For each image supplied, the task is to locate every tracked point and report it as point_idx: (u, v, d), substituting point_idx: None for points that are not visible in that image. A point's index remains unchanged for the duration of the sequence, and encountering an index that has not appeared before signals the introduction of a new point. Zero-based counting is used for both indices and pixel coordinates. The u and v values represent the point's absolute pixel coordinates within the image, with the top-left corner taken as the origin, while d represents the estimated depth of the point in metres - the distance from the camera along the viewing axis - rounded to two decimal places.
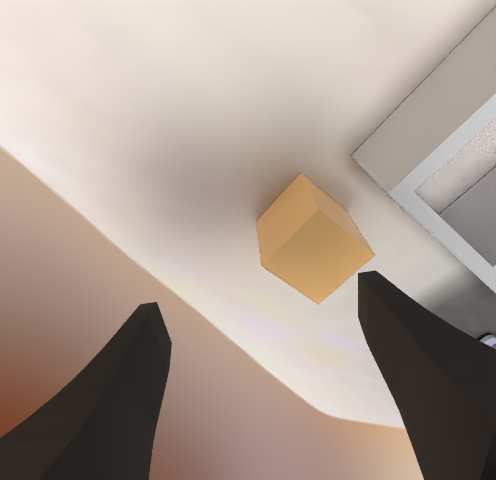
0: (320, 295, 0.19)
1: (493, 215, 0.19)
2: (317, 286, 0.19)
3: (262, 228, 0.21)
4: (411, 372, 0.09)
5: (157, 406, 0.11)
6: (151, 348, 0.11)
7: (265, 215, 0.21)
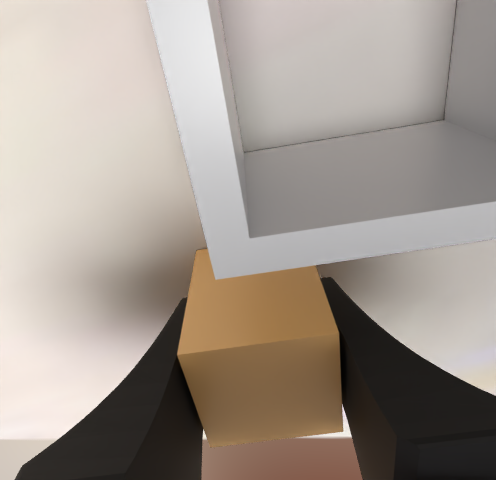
0: (331, 422, 0.10)
1: None
2: (311, 418, 0.10)
3: None
4: (350, 380, 0.09)
5: None
6: None
7: None
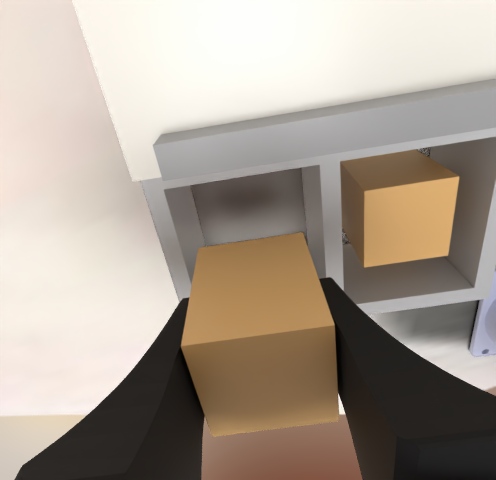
0: (327, 412, 0.11)
1: (315, 247, 0.19)
2: (308, 407, 0.11)
3: None
4: (350, 380, 0.09)
5: None
6: None
7: None
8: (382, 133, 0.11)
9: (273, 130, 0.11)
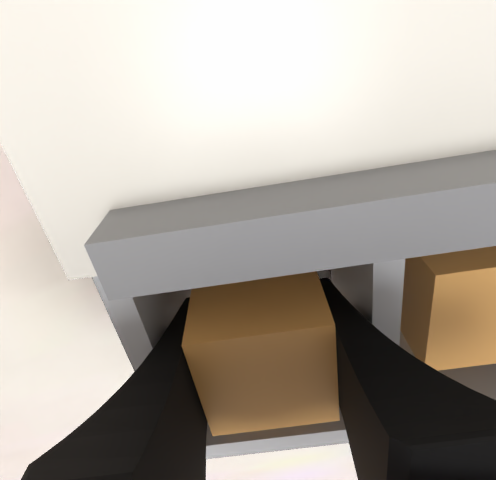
0: (328, 411, 0.11)
1: None
2: (309, 407, 0.11)
3: None
4: (345, 380, 0.09)
5: None
6: None
7: None
8: None
9: (311, 219, 0.06)
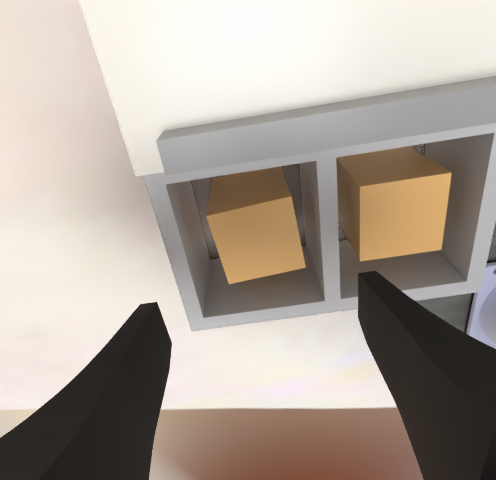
0: (297, 260, 0.18)
1: (312, 242, 0.20)
2: (285, 257, 0.18)
3: None
4: (411, 372, 0.09)
5: (157, 406, 0.11)
6: (151, 348, 0.11)
7: None
8: (376, 130, 0.12)
9: (271, 126, 0.12)
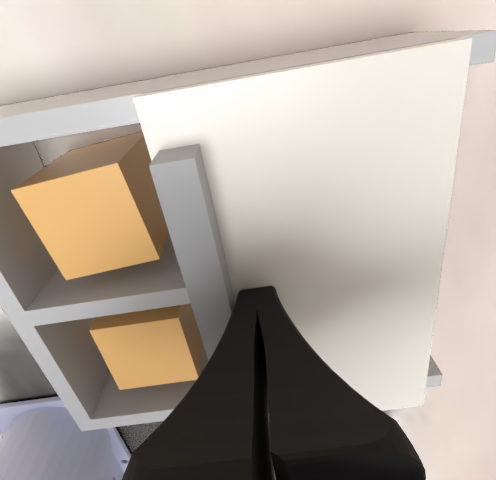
0: (73, 271, 0.14)
1: None
2: (74, 258, 0.14)
3: (62, 159, 0.15)
4: None
5: (267, 392, 0.11)
6: (261, 333, 0.11)
7: (80, 149, 0.16)
8: None
9: (218, 279, 0.11)
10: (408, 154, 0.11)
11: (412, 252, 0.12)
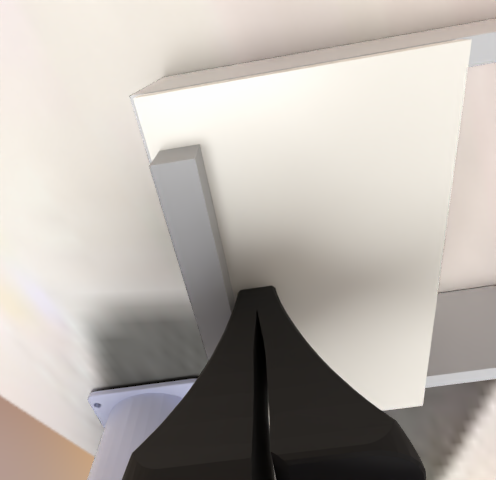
0: None
1: None
2: None
3: None
4: None
5: (267, 392, 0.11)
6: (261, 333, 0.11)
7: None
8: None
9: (218, 279, 0.11)
10: (407, 155, 0.11)
11: (411, 252, 0.12)
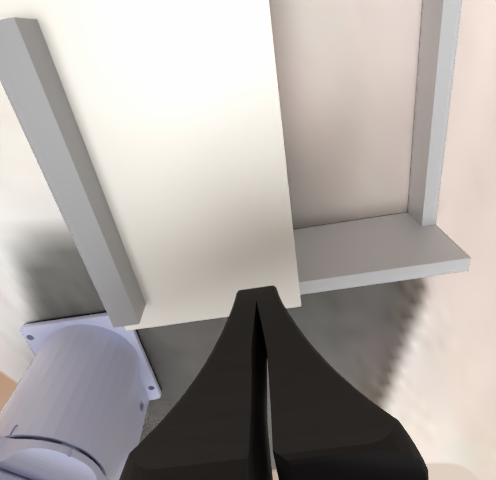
0: None
1: None
2: None
3: None
4: None
5: (265, 392, 0.11)
6: (259, 333, 0.11)
7: None
8: (81, 235, 0.14)
9: (62, 147, 0.12)
10: (228, 32, 0.12)
11: (254, 136, 0.14)
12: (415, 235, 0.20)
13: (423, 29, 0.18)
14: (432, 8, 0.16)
